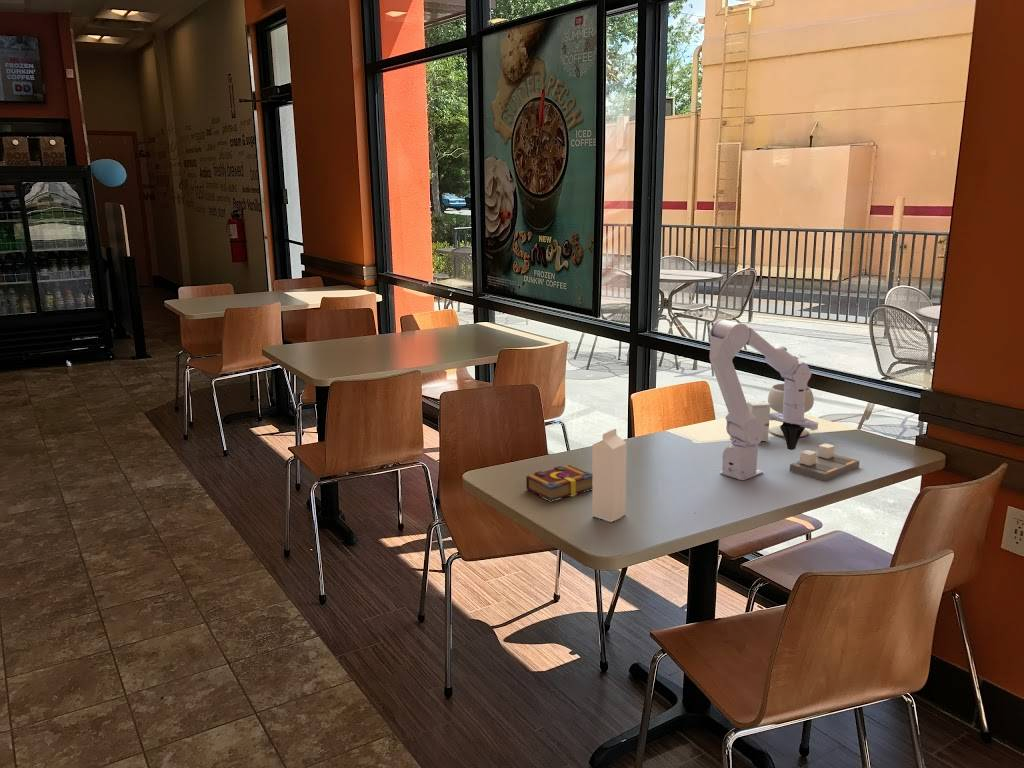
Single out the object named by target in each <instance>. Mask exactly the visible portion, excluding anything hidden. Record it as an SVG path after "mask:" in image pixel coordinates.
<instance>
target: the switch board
mask: <svg viewBox="0 0 1024 768" xmlns="http://www.w3.org/2000/svg"><path fill="white" fill-rule="evenodd" d="M858 468H859V469H860V460H857V459H855V458H850V457H846V456H842V455H839V454H835V453H834V457H831V458H828V459H827V458H823V457H819V456H818V453H816V463H815V464H812V465H810V466H808V465H805V464H801V463H800V460H797V461H795V462H793V463H790V464H789V472H792V473H795V474H799V475H802V476H805V477H809V478H812V479H816V480H819V481H822V482H827V481H828V480H832V479H834V478H837V477H839V476H842V475H844V474H846V473H847V474H848V473H850V472H851V471H854V470H856V469H858Z"/></svg>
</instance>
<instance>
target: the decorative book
mask: <svg viewBox="0 0 1024 768" xmlns="http://www.w3.org/2000/svg"><path fill="white" fill-rule="evenodd" d="M525 478H526V479H525V480H526V490H527V489H528V490H530V491H532V492H534V493H536V494H538V495H541V496H542V497H544V498H546V499H548V500H550V501H552V500H555V499H558V498H562V497H565V496H568V497H570V496H569V495H575V494H576V493H579V494H582V493H584V491H587V490H591V489H593V473H591V472H588V471H584V470H582V469H579V468H577V467H575V466H572V465H570V464H568V465H564V466H561V465H559V466H555V467H554V468H553V469H550V470H549V469H548V470H545V471H542V470H540V471H536V472H534V474H530V475H526V477H525ZM528 490H527V491H528ZM530 491H529V492H530ZM532 492H531V493H532ZM581 492H582V493H581ZM534 493H533V494H534ZM536 494H535V495H536ZM538 495H537V496H538ZM576 495H577V494H576ZM542 497H541V498H542ZM565 498H566V497H565ZM562 499H563V498H562Z"/></svg>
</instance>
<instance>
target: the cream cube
mask: <svg viewBox="0 0 1024 768" xmlns="http://www.w3.org/2000/svg"><path fill="white" fill-rule="evenodd" d="M817 454H818V456H819V457H823V458H827V459H828V458H831V457H834V454H835V445H832V444H829V443H826V442H825V443H823V444H820V445H818V452H817Z"/></svg>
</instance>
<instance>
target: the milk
mask: <svg viewBox="0 0 1024 768" xmlns="http://www.w3.org/2000/svg"><path fill="white" fill-rule="evenodd" d="M592 474H593V478H592V486H593V490H592V517H593V516H597V517H600V518H601V517H602V518H605V519H608V520H612V521H614V520H615V519H617V518H619V517H621V516H623V515H625V514H626V513H627V512H626V511H627V510H626V509H627V508H626V507H627V442H626V441H625V440H623V438H622V437H620V436H619V435H618V434H617V428H613V429H611V430H609V431H607V432H605V433H602V440H599V441H598V442H595V443H593V444H592Z"/></svg>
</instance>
